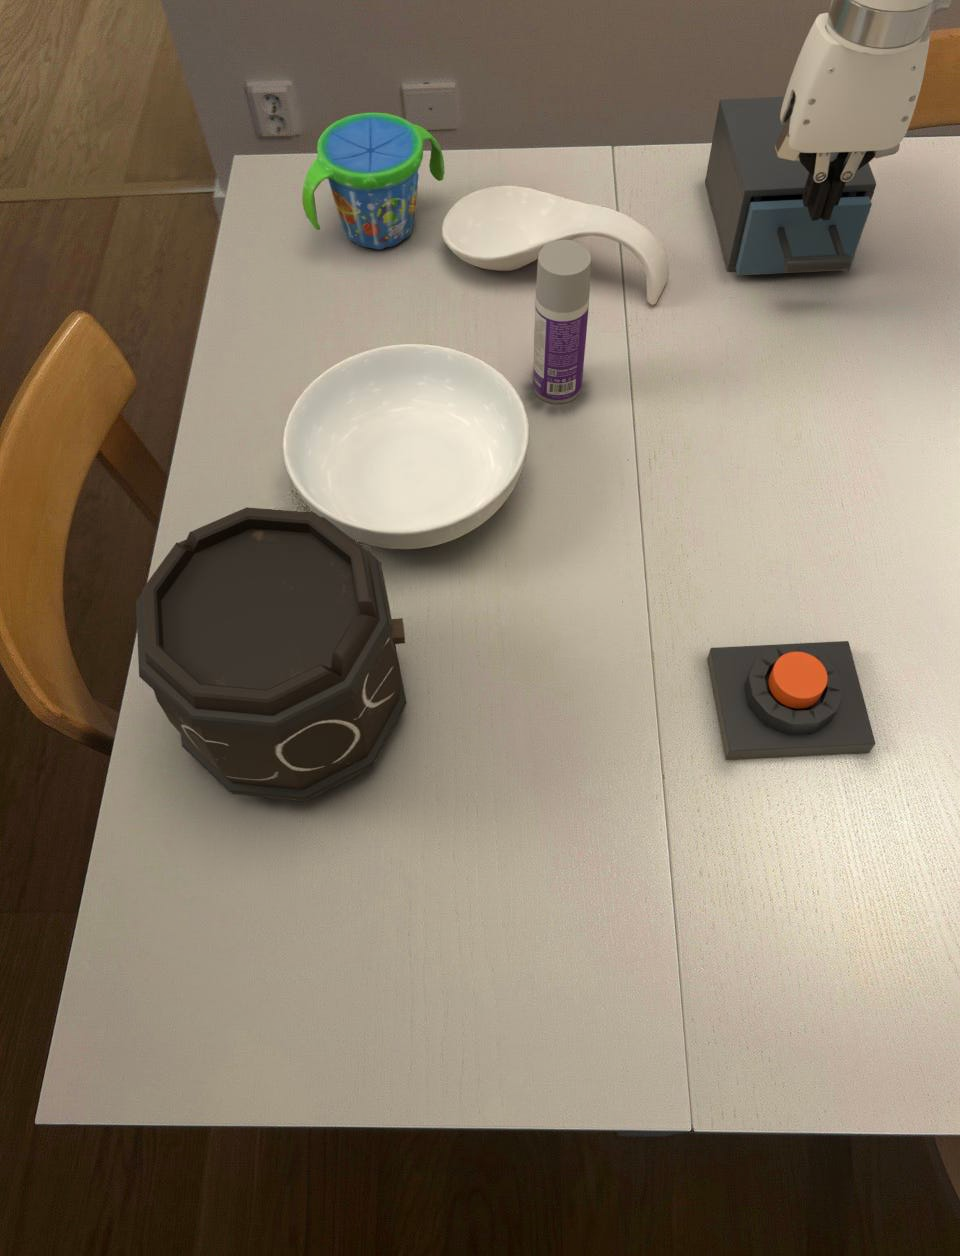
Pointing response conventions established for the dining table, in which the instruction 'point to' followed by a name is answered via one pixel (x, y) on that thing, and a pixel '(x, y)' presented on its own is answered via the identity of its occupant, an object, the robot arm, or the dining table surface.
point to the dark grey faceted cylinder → (273, 652)
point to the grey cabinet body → (755, 167)
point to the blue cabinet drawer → (800, 235)
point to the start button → (798, 680)
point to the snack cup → (372, 176)
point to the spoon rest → (542, 230)
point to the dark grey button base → (774, 728)
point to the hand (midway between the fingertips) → (817, 210)
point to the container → (561, 320)
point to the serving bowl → (407, 445)
